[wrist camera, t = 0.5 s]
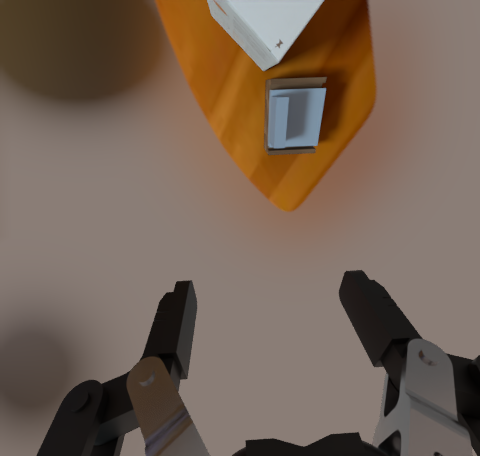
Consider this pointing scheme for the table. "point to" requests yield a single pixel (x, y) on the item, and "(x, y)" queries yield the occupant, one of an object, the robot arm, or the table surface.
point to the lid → (295, 117)
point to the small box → (264, 25)
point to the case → (270, 85)
